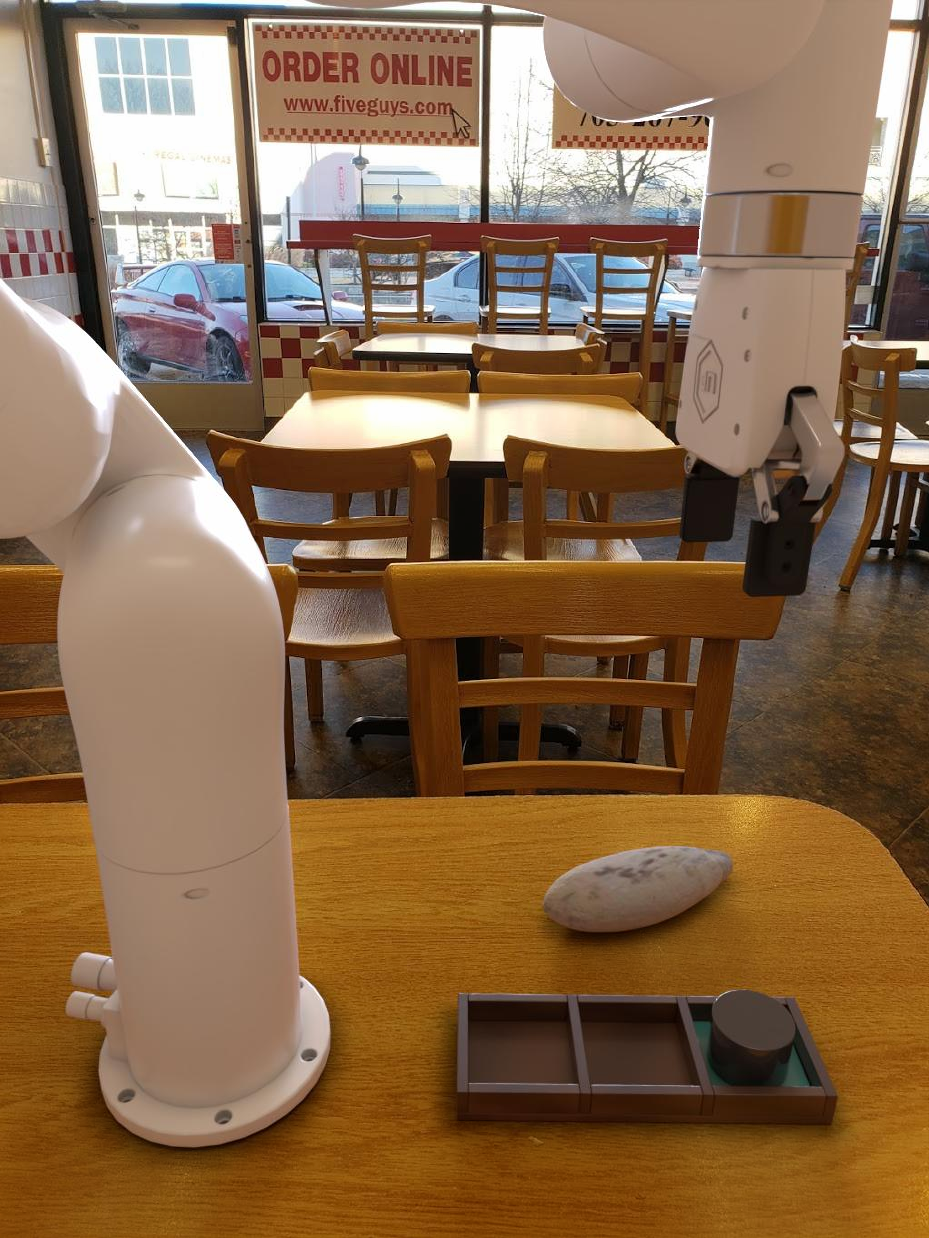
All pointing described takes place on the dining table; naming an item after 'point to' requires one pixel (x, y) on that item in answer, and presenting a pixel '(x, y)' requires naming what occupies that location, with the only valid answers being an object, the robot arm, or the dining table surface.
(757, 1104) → the divided tray
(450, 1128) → the dining table surface
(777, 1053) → the dark gray cylinder
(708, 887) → the decorative stone
